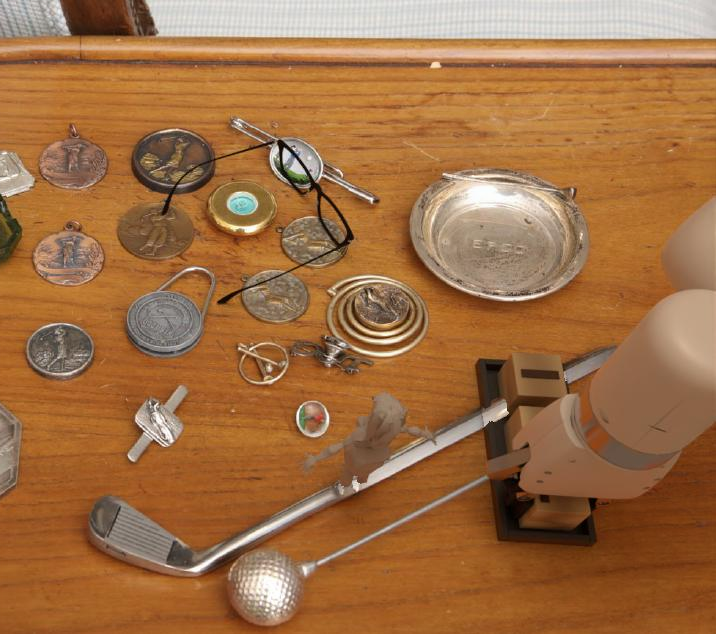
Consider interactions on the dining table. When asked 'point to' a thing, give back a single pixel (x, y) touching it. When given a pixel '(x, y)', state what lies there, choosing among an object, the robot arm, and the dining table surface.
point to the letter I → (531, 380)
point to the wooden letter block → (555, 512)
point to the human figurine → (370, 440)
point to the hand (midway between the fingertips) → (542, 503)
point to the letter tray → (496, 448)
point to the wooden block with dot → (518, 423)
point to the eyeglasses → (314, 185)
